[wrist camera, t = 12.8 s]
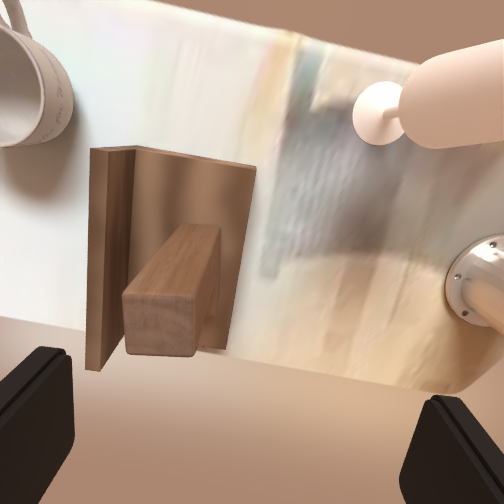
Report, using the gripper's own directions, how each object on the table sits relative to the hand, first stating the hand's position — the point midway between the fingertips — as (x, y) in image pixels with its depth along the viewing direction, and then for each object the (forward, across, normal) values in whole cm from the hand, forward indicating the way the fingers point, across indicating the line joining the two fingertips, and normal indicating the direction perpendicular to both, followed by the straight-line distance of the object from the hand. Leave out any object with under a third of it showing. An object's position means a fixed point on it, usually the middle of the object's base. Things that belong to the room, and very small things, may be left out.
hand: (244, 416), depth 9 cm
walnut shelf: (+34, +8, +7) cm, 36 cm away
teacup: (+34, +25, -10) cm, 44 cm away
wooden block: (+30, +6, +7) cm, 31 cm away
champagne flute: (+35, -13, -12) cm, 39 cm away
